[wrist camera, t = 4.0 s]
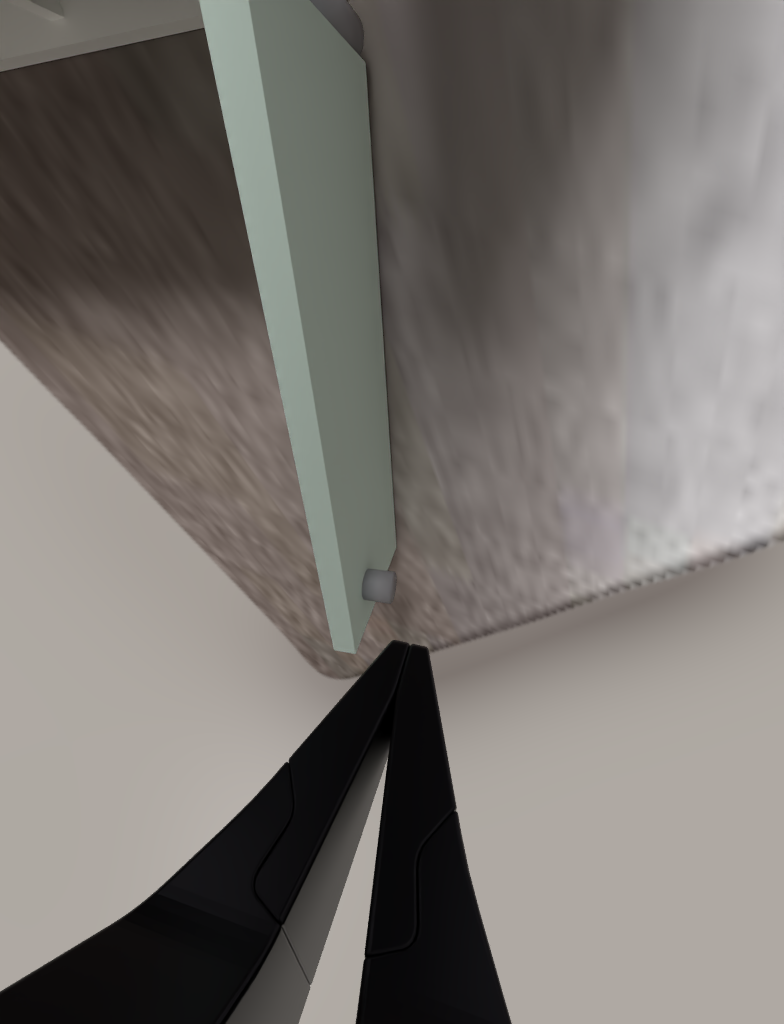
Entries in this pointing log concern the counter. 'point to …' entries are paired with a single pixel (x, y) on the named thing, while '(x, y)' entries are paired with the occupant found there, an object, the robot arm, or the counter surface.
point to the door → (316, 273)
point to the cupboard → (86, 26)
